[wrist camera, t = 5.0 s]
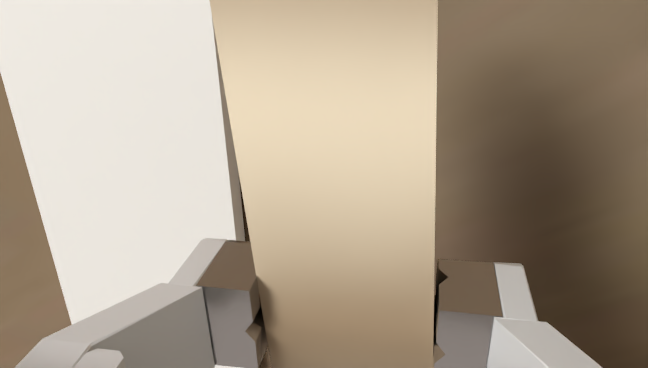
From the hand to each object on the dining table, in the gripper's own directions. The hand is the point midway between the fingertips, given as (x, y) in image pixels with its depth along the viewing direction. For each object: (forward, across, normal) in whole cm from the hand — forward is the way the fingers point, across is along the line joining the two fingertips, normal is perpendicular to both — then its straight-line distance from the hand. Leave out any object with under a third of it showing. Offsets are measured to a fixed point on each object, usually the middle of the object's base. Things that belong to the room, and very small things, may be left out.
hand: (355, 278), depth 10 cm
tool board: (+10, +11, +6) cm, 16 cm away
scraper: (+2, 0, +2) cm, 3 cm away
